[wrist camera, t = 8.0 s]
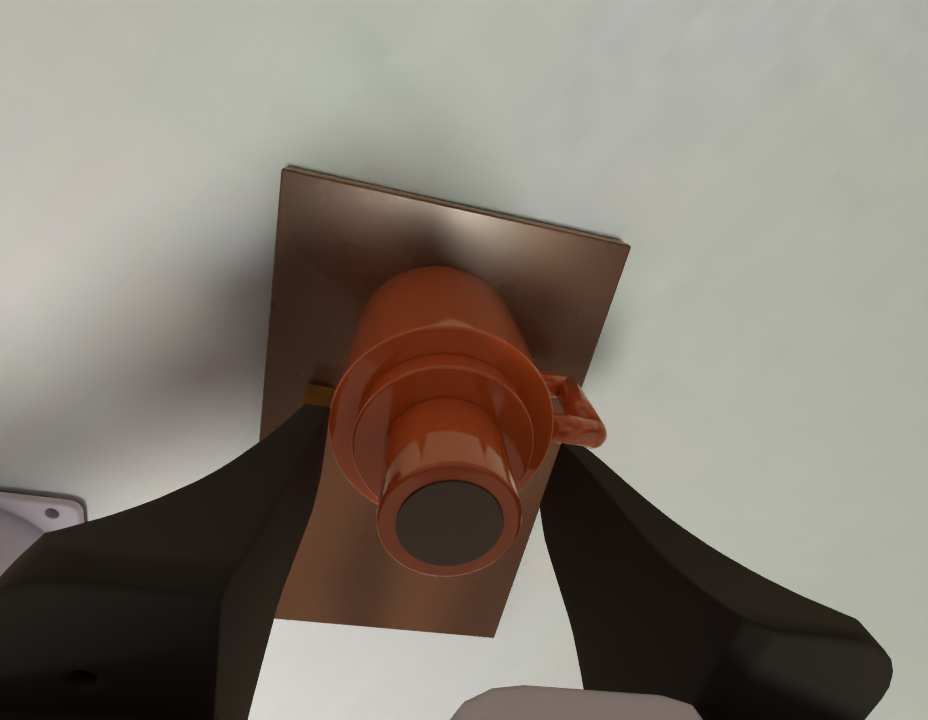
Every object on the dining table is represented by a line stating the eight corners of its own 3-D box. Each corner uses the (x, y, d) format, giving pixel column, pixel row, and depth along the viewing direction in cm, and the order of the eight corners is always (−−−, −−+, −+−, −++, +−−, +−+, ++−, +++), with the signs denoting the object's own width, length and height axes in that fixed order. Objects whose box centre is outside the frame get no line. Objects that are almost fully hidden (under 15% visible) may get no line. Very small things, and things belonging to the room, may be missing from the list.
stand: (250, 598, 25) (231, 652, 22) (288, 165, 17) (265, 173, 15) (491, 621, 27) (499, 673, 24) (621, 240, 19) (652, 257, 17)
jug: (543, 433, 21) (628, 647, 13) (343, 402, 20) (285, 616, 11) (588, 294, 19) (733, 438, 10) (367, 249, 18) (315, 369, 9)
